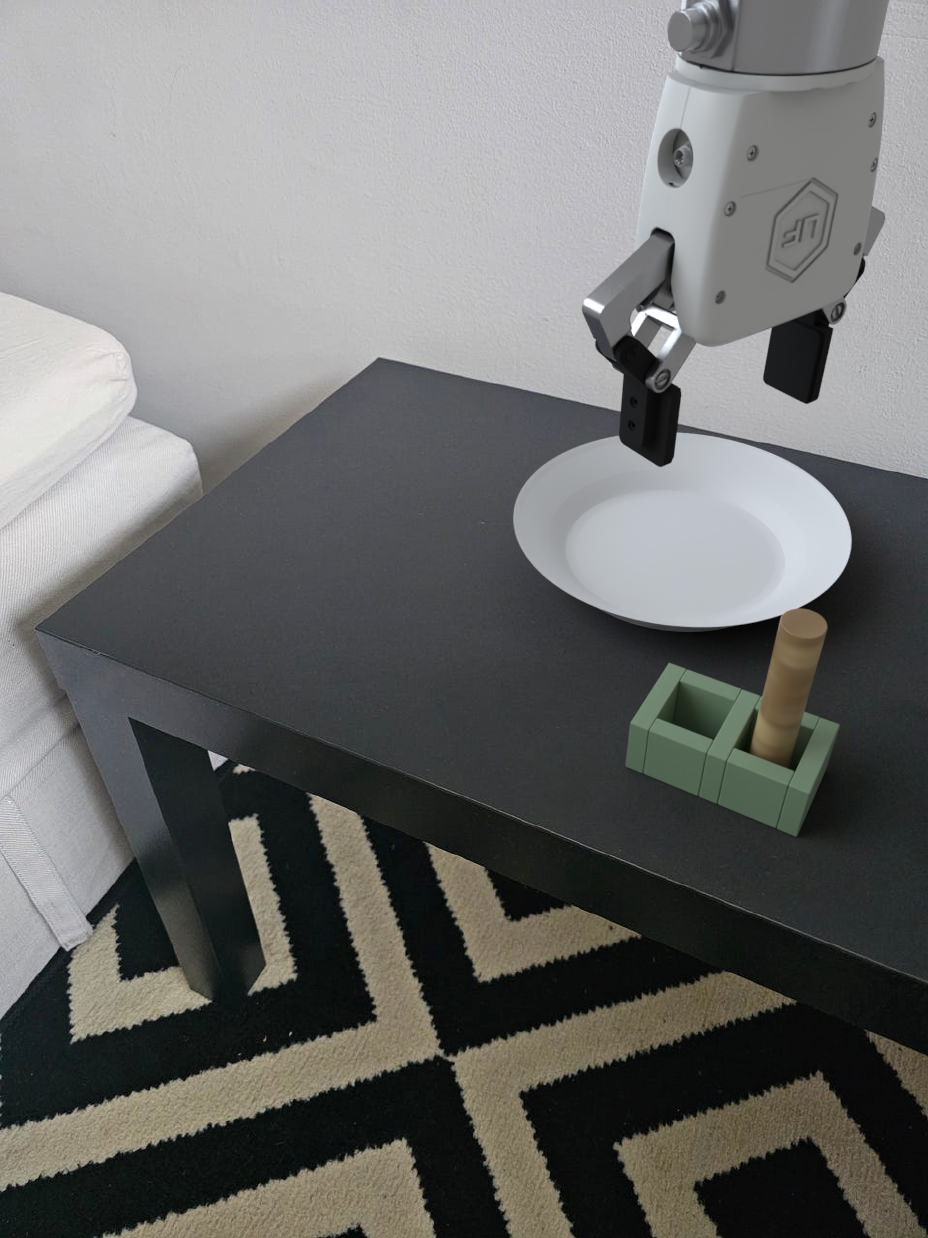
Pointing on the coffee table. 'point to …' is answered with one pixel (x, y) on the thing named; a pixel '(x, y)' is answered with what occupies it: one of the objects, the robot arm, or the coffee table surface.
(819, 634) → the stick
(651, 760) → the holder
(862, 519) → the coffee table surface
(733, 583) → the white plate
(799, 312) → the robot arm
